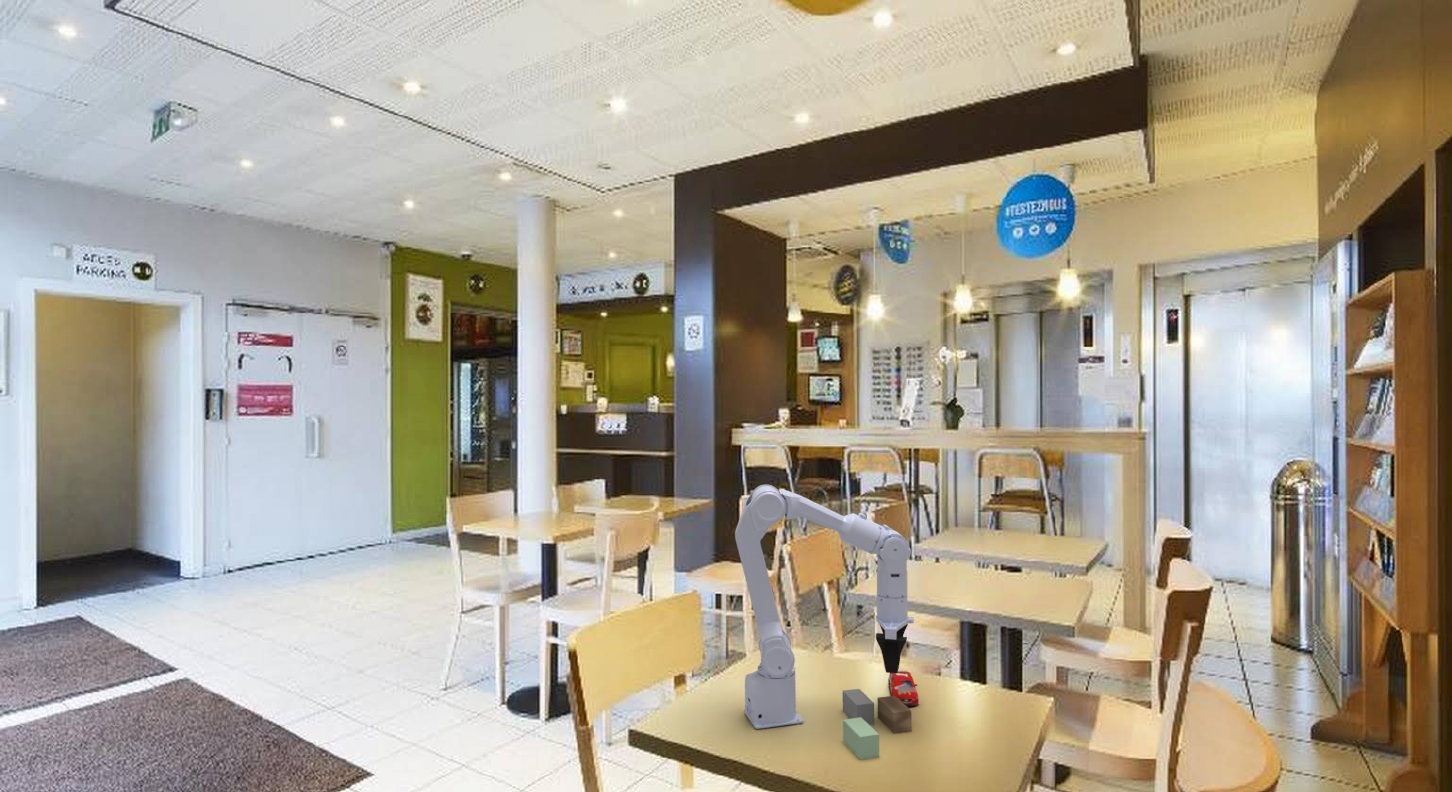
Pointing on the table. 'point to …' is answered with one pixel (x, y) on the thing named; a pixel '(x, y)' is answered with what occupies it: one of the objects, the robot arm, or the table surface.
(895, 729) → the walnut brick
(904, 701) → the race car
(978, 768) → the table surface
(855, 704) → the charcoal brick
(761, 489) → the robot arm
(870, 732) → the green brick
